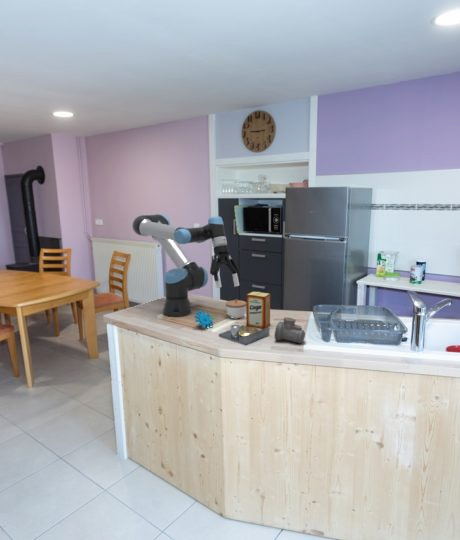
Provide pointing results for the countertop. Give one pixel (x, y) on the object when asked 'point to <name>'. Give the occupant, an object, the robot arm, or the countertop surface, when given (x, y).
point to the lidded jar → (236, 308)
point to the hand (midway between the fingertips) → (228, 286)
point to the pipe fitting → (289, 331)
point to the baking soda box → (258, 310)
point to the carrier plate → (245, 334)
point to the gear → (204, 319)
